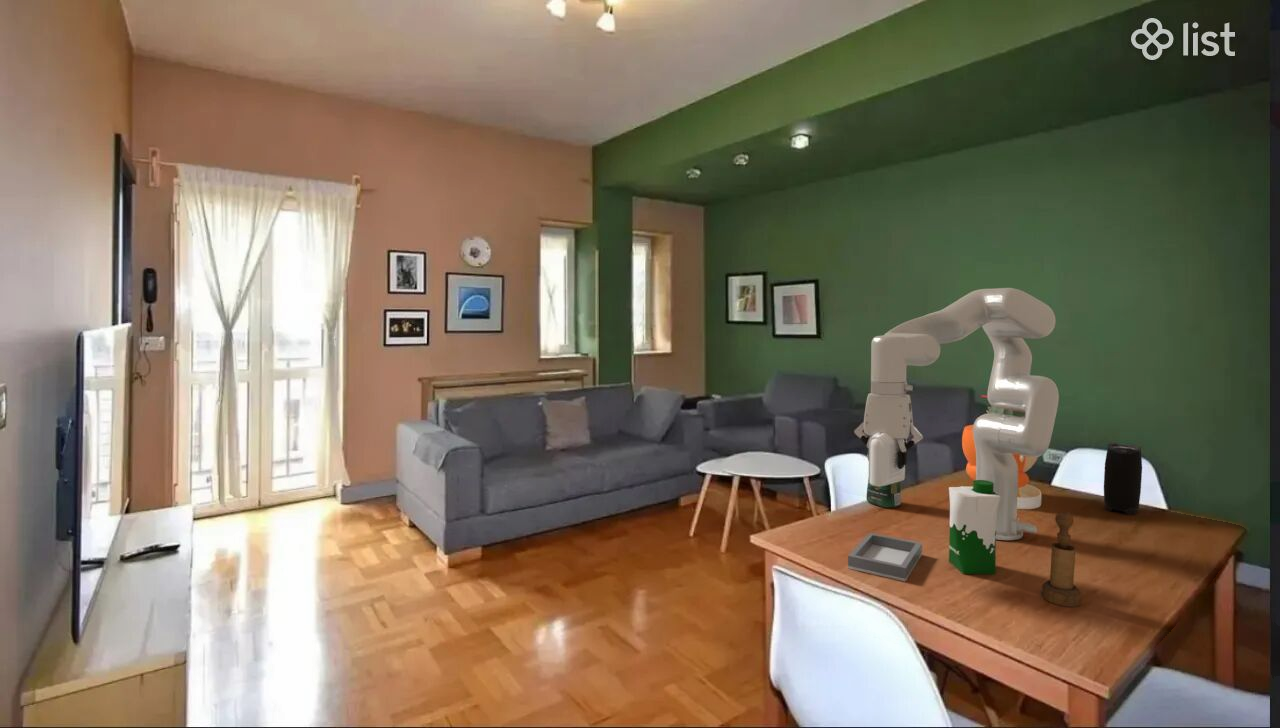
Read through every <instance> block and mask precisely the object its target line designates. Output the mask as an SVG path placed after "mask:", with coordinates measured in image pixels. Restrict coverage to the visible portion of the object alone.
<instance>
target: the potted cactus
mask: <svg viewBox="0 0 1280 728" xmlns="http://www.w3.org/2000/svg"><path fill="white" fill-rule="evenodd" d="M979 397H980V398H985V399H988V398H987V395H980V396H979ZM988 413H997V414H1005V415H1011V416H1017V417H1023V418H1025V412H1020V411H1013V410H1006V409H1000V408H997V407H994V406H992V405H990V407H989V406H988V407H987V414H988ZM973 425H974V424H970V425H966V426H964V428H963V431H962V436H961V437H962V439H961V444H962V445H961V446H962V450H963V451H962V452H963V455H964V456H965V458H966V460H967V463H966V468H965V471H966V474H967V475H968V477H969V478H971V480H972V481H974V480H976V448H975V443H974V438H973ZM1012 455H1013V457H1014V458H1015V460H1016V463H1017V466H1018V490H1017V510H1032V509H1033V510H1035V509H1037V508H1038V509H1039V508H1040V507H1041V505H1042V494H1043V493H1042V491H1041V490H1040V488H1037V487H1036V486H1034V485H1031V484H1029V482H1030V477H1029V475H1028V474H1027V473H1026V472H1027V471H1029V470H1030V469H1031V468H1032V467H1033V466H1034V465H1035V463H1036V462H1037V460H1038V458H1039V457H1027V456H1022V455H1017V454H1012Z"/></svg>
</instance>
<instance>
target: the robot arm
mask: <svg viewBox="0 0 1280 728" xmlns="http://www.w3.org/2000/svg"><path fill="white" fill-rule="evenodd" d="M981 327H982V329H983V331H984V332H985V334H986V335H987V337H988V339H989V341H990V343H991V345H992V349H993V354H994V356H993V362H992V368H991V372H990V376H989V383H988V387H987V395H986V396H987V398H986V399H987V401H988V403H989V404H990V406H994V407H997V408H1000V409H1006V410H1013V411H1020V412H1025V418H1023V417H1017V416H1011V415H1005V414H997V413H988V412H987V413H984V414H982V415H980V416H978V417H977V418H976V419H975V420H974V423H973V424H972V425H973V438H974V443H975V448H976V480H986V481H990V482H993V484H994V486H993V489H994V490H993V491H994V492H995V493H996V494H998V495H999V496H1000V501H999V505H998V510H997V523H996V541H997V540H998V541H1015V540H1020V539H1022V538H1023V536H1024V532H1027V533H1029V534H1037V533H1038V532H1037V531H1038V529H1037V528H1038V525H1033V523H1031V522H1022V520H1019V518H1020V517H1019V515H1017V514H1018V513H1017V510H1018V509H1017V490H1018V466H1017V463H1016V460H1015V458H1014V457H1013V455H1012V454H1017V455H1022V456H1027V457H1038V458H1039V457H1041V456H1043V455H1044V454H1045V453H1046V452H1047V451H1048V449H1049V447H1050V444H1051V440H1052V435H1053V431H1054V425H1055V422H1056V421H1055V420H1056V418H1057V417H1056V416H1057V412H1058V408H1059V401H1060V400H1059V399H1060V395H1059V389H1058V387H1057V384H1056V383H1055V382H1054V381H1053V380H1052V379H1051V378H1050V377H1049V378H1048V377H1046V376H1043V375H1034V374H1033V375H1031V369H1032V362H1033V356H1032V351H1031V349H1030V348H1029V345H1028V344H1027V343H1026V341H1025V340H1024V339H1041V338H1046V337H1047V336H1049V335H1050V334H1051V333H1052V332H1053V330H1054V329H1055V327H1056V315H1055V312H1054V311H1053V309H1052V307H1050V306H1049V305H1048V304H1047V303H1045V302H1043V301H1042V300H1039V299H1038V298H1036V297H1035V296H1033V295H1031V294H1029V293H1027V292H1025V291H1023V290H1021V289H1017V288H1013V287H997V288H981V289H976V290H973V291H970V292H969V293H967V294H966V295H964V296H962V297H960V298H959V299H958V300H956V301H954V302H952V303H951V304H949V305H947V306H946V307H944V308H943V309H940V310H937V311H934V312H931V313H927V314H925V315H922V316H920V317H916V318H913V319H910V320H907V321H904V322H903V323H900V324H898V325H897V326H895V327H893V328H891V329H890V330H888V331H886V333H884V335H876V336H874V337H873V338H872V340H871V350H870V352H871V353H870V354H871V355H870V358H871V359H870V360H871V361H870V363H871V364H870V365H871V366H870V393H868V394H867V397H866V402H865V410H864V414H863V416H864V417H863V422H861V423H860V424H859V426H857V428H855V429H854V431H853V432H854V434H855V435H856V436H857V437H858V438H859V439H860V440H861V442H863V444H865V446H866V448H867V453H868V458H867V461H868V460H869V441H870V439H871V438H872V437H873V436H874V435H875V434H877V433H879V432H880V433H881V434H882V433H884V432H885V433H887V434H888V435H890V437H891V438H893V439H897V441H898V444H899V447H900V451H899V452H898V468H899V469H902V468H903V467H904V465H905V466H906V465H907V463H908V450H909V449H911V448H912V447H913V446H915V445H916V444H918V443H919V442H920V441H922V440H923V439H924V436H923V434H922V433H921V432H920V431H919V430H918V429H917V427H915V425H914V419H913V407H912V400H911V396H910V394H907V393H908V392H913V389H914V386H913V385H912V384H909V383H908V381H907V366H916V367H925V366H929V365H932V364H933V363H935V362H936V361H937V360H938V359H939V357H940V354H941V345H942V344H949V343H954V342H958V341H960V340H963V339H965V338H966V337H967V336H969V335H970V334H972V333H973V332H976V331H977V330H978V329H980V328H981ZM910 436H913V438H912V439H910V440H909V441H908V440H907V439H908V438H909V437H910Z"/></svg>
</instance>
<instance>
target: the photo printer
mask: <svg viewBox="0 0 1280 728" xmlns="http://www.w3.org/2000/svg"><path fill="white" fill-rule="evenodd" d="M899 451H900V447H899V444H898V441H897V439H893V438H891V437H890V435H888V434H887V433H885V432H884V433H882V434H881V433H880V432H879V433H877V434H875V435H874V436H873V437H872V438H871V439H870V441H869V461H868V476H869V483H870V484H871V485H874V486H885V485H889V484H892V483H896V482H899V481H900V482H902V481H904V480H905V479H906V478H905V477H906V465H904V467H903V468H902V469H899V468H898V452H899Z"/></svg>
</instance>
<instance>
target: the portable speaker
mask: <svg viewBox="0 0 1280 728" xmlns="http://www.w3.org/2000/svg"><path fill="white" fill-rule="evenodd" d="M1103 475H1104V476H1103V502H1104V509H1105V510H1107V511H1109V512H1112V511H1113V510H1114V511H1115V510H1116V511H1120V512H1123V513H1124V514H1126V515H1135V514H1138V511H1139V508H1140V507H1139V506H1140V500H1141V493H1142V492H1141V491H1142V476H1143V460H1142V446H1140V445H1137V444H1130V445H1129V444H1128V445H1126V444H1119V443H1116V442H1115V443H1113V442H1112V443H1111V442H1110V443H1108V444H1107V449H1106V456H1105V462H1104V474H1103Z"/></svg>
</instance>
